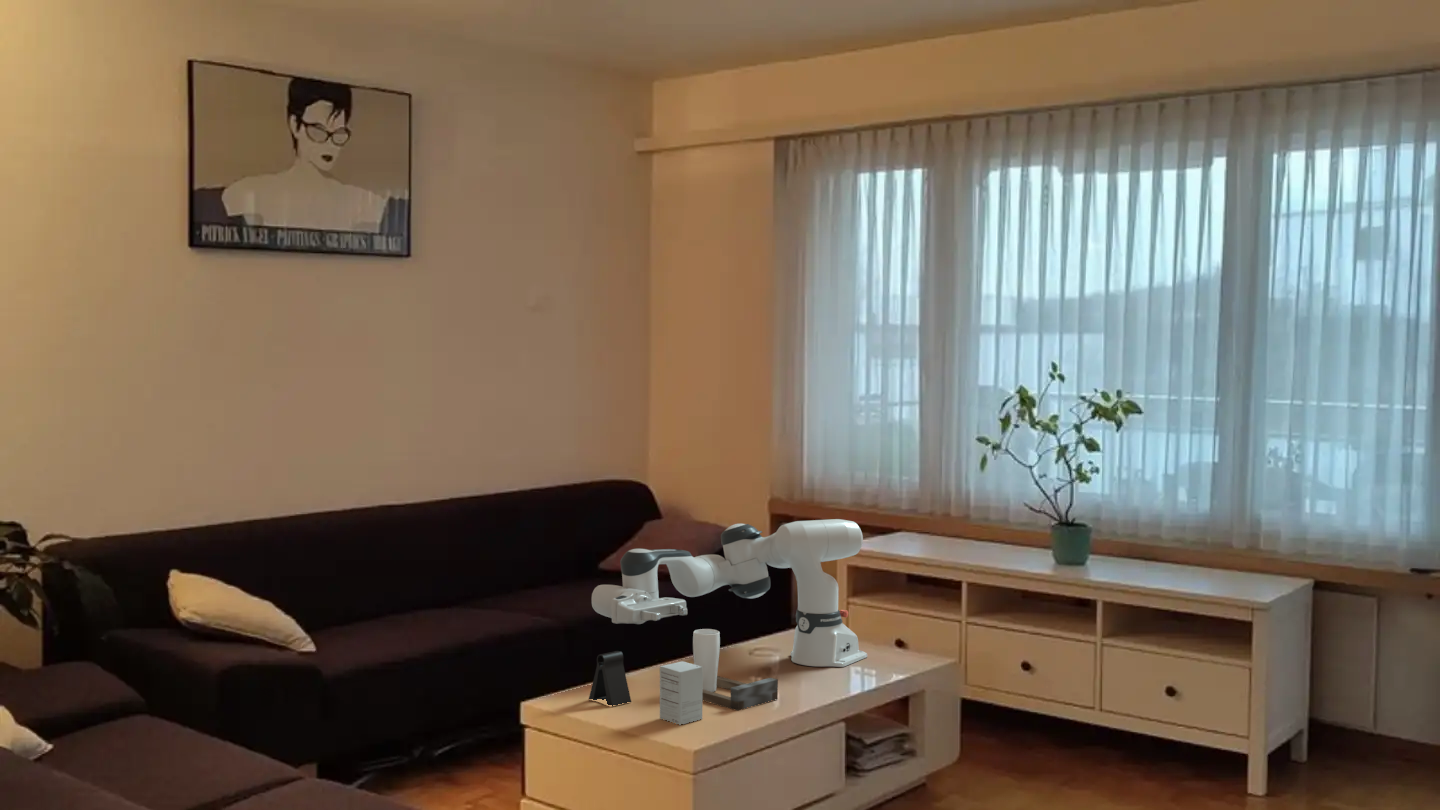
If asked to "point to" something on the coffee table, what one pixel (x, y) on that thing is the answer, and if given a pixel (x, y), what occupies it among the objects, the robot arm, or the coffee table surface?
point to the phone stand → (610, 679)
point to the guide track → (743, 693)
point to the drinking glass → (707, 655)
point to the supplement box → (681, 692)
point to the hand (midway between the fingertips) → (672, 614)
